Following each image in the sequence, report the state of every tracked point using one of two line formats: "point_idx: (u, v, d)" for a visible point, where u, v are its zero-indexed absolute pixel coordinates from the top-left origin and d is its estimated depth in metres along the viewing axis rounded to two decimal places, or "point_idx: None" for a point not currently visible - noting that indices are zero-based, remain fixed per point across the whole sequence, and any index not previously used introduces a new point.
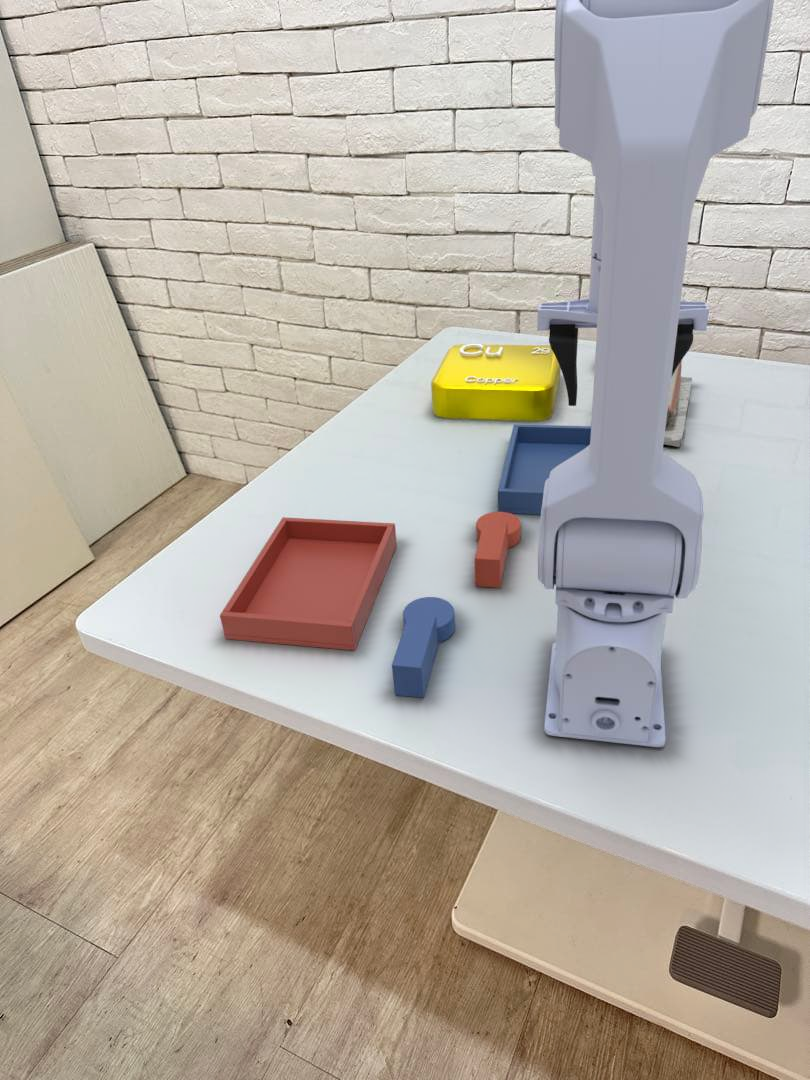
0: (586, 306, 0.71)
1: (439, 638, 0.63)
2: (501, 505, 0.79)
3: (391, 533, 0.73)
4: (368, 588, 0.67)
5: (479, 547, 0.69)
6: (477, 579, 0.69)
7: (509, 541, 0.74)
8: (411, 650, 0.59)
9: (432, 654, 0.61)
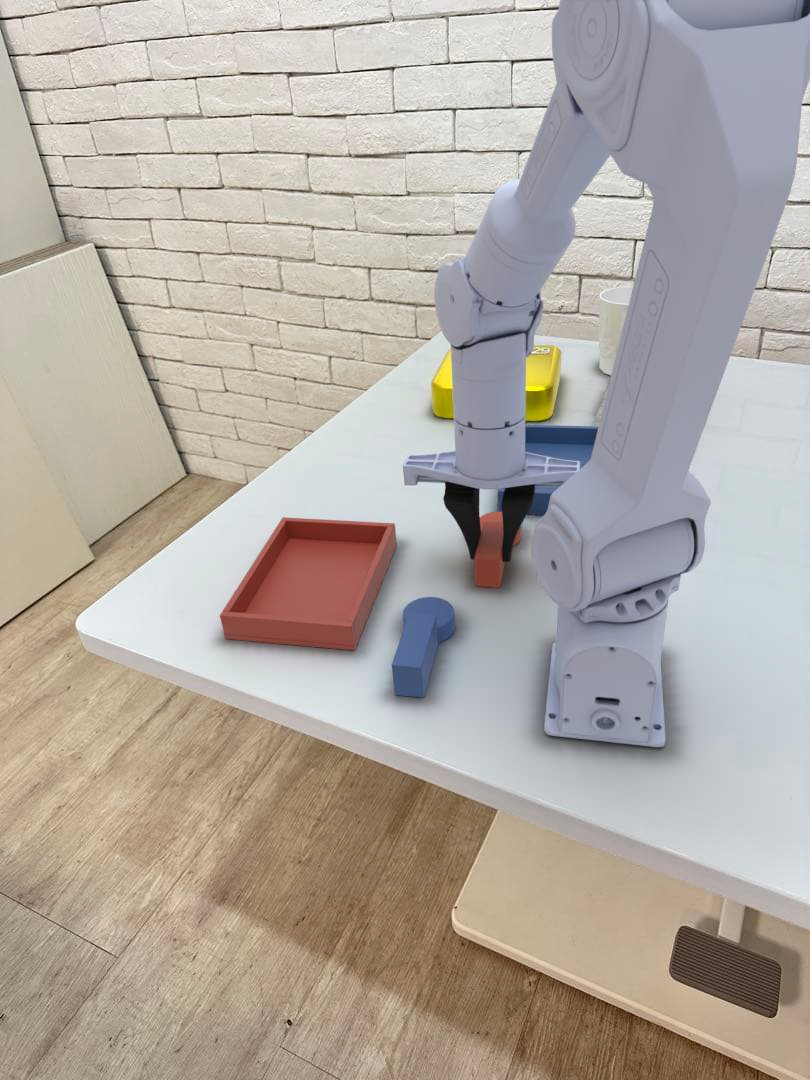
0: (454, 462, 0.67)
1: (439, 638, 0.63)
2: (501, 505, 0.79)
3: (391, 533, 0.73)
4: (368, 588, 0.67)
5: (479, 547, 0.69)
6: (477, 579, 0.69)
7: None
8: (411, 650, 0.59)
9: (432, 654, 0.61)
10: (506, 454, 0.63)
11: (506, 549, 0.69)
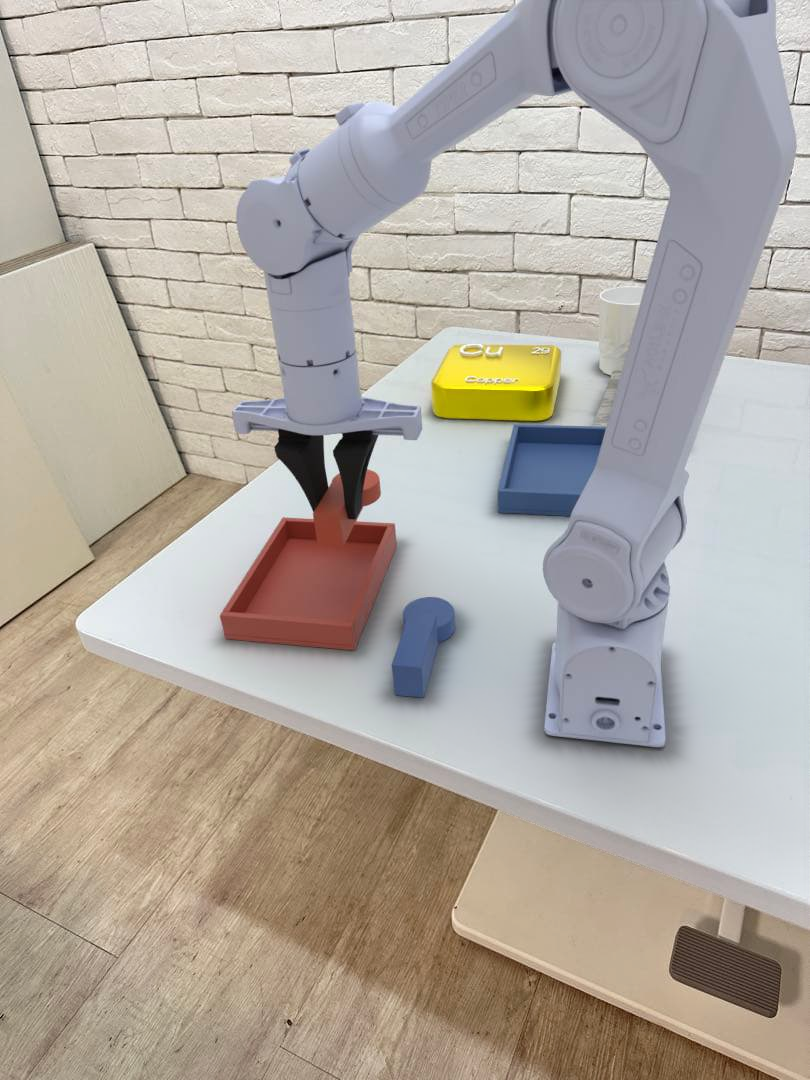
0: (286, 408, 0.61)
1: (439, 638, 0.63)
2: (501, 505, 0.79)
3: (391, 533, 0.73)
4: (368, 588, 0.67)
5: (321, 502, 0.64)
6: (318, 537, 0.64)
7: (364, 499, 0.68)
8: (411, 650, 0.59)
9: (432, 654, 0.61)
10: (332, 396, 0.57)
11: (349, 505, 0.63)
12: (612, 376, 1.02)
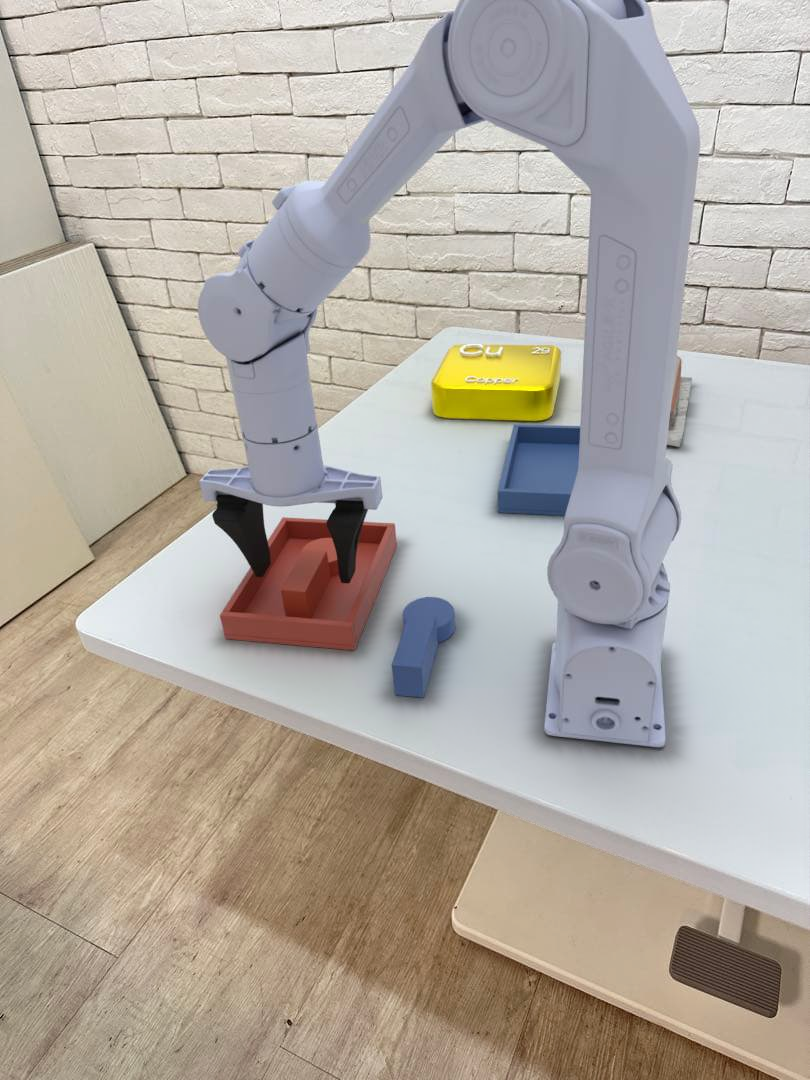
0: None
1: (439, 638, 0.63)
2: (501, 505, 0.79)
3: (391, 533, 0.73)
4: (368, 588, 0.67)
5: (289, 578, 0.67)
6: (286, 611, 0.67)
7: (332, 569, 0.71)
8: (411, 650, 0.59)
9: (432, 654, 0.61)
10: (294, 470, 0.59)
11: (342, 570, 0.65)
12: None
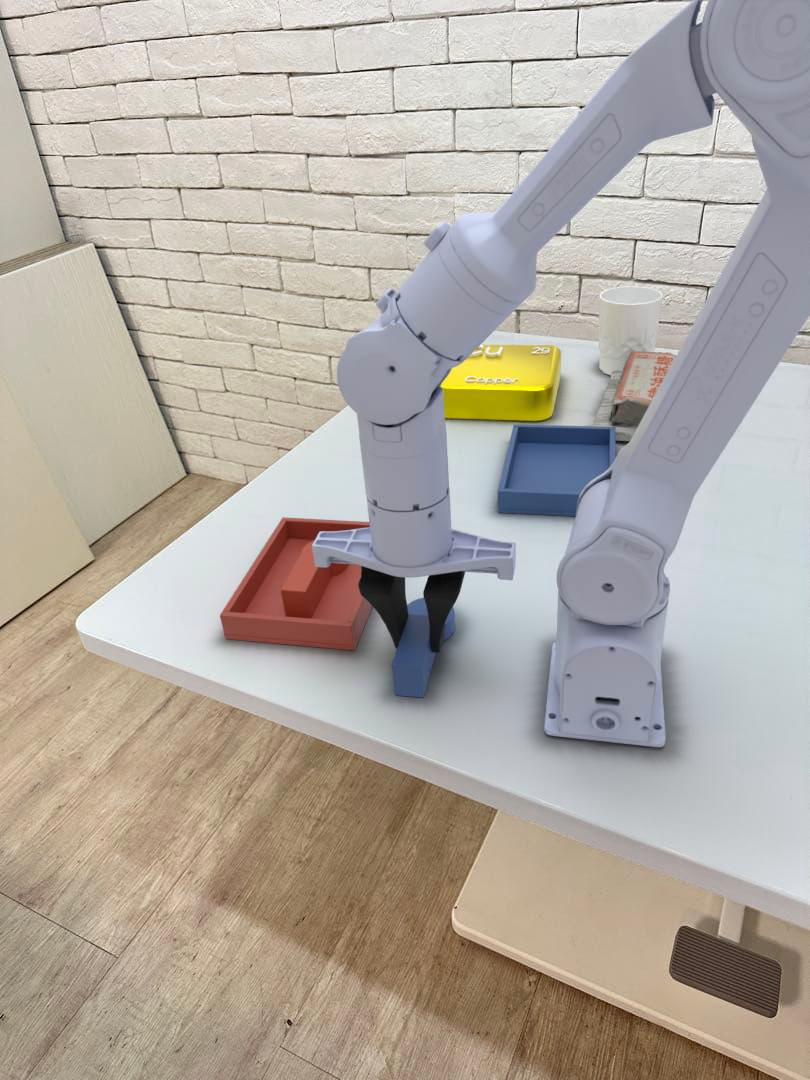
0: (370, 542, 0.57)
1: None
2: (501, 505, 0.79)
3: None
4: None
5: (289, 578, 0.67)
6: (286, 611, 0.67)
7: (332, 569, 0.71)
8: (411, 650, 0.59)
9: (432, 654, 0.61)
10: (426, 539, 0.53)
11: (434, 639, 0.59)
12: (612, 376, 1.02)
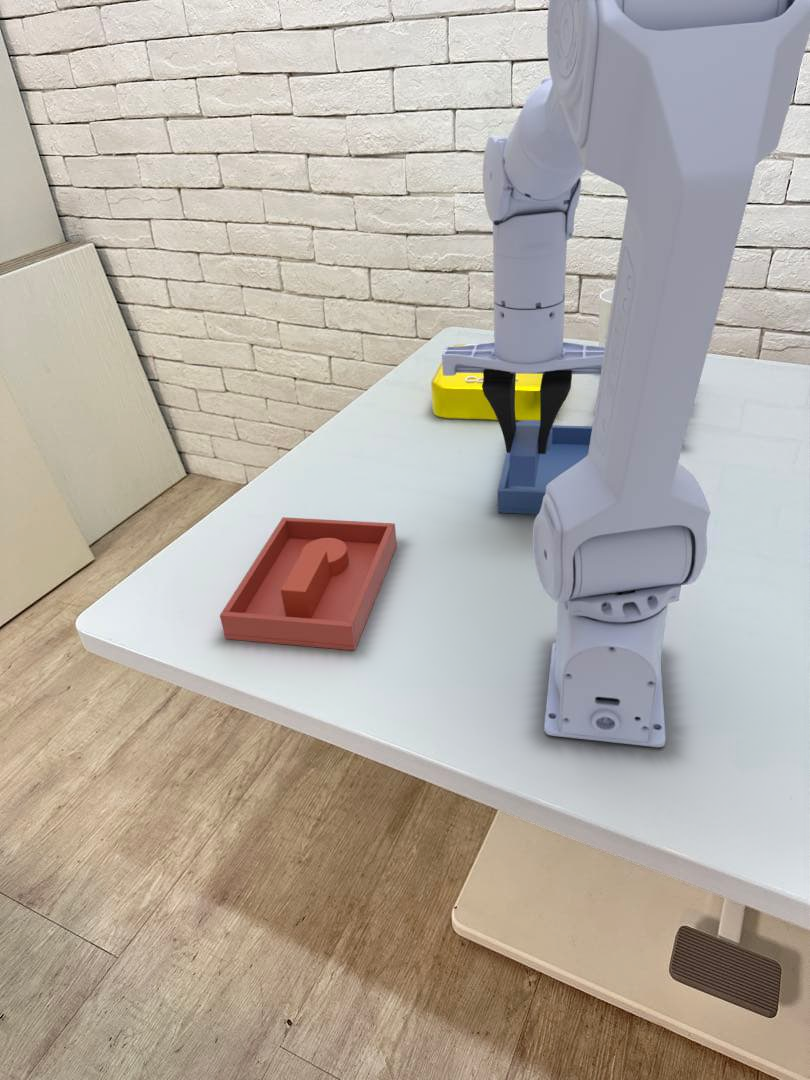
0: (492, 351, 0.68)
1: None
2: (501, 505, 0.79)
3: (391, 533, 0.73)
4: (368, 588, 0.67)
5: (289, 578, 0.67)
6: (286, 611, 0.67)
7: (332, 569, 0.71)
8: (524, 446, 0.69)
9: (538, 457, 0.72)
10: (546, 336, 0.64)
11: (542, 439, 0.70)
12: None
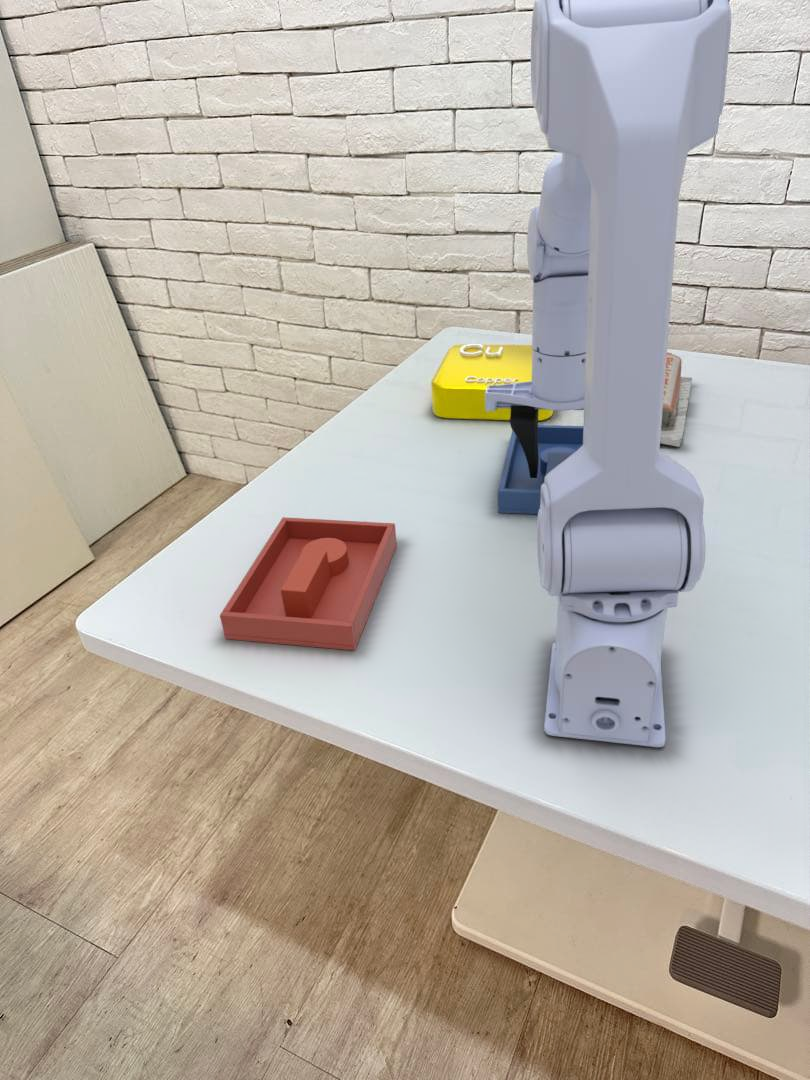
0: (529, 390, 0.77)
1: None
2: (501, 505, 0.79)
3: (391, 533, 0.73)
4: (368, 588, 0.67)
5: (289, 578, 0.67)
6: (286, 611, 0.67)
7: (332, 569, 0.71)
8: None
9: None
10: (578, 379, 0.73)
11: None
12: None
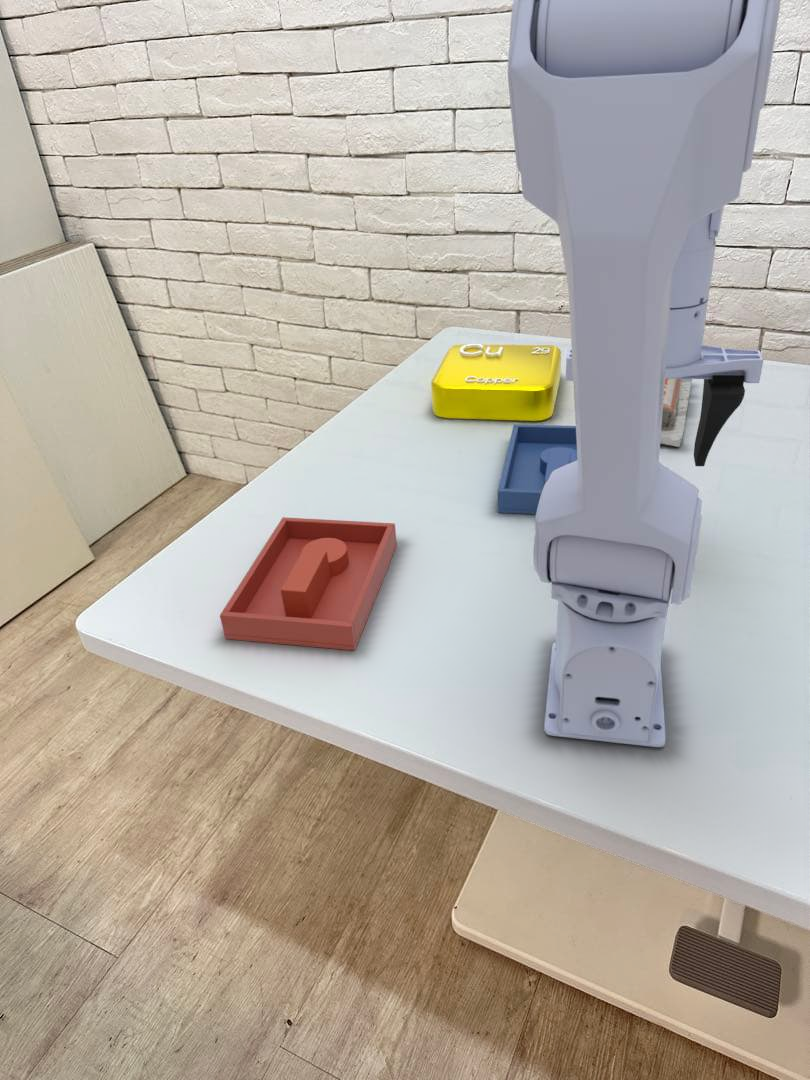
0: None
1: None
2: (501, 505, 0.79)
3: (391, 533, 0.73)
4: (368, 588, 0.67)
5: (289, 578, 0.67)
6: (286, 611, 0.67)
7: (332, 569, 0.71)
8: None
9: None
10: (689, 338, 0.59)
11: (703, 451, 0.64)
12: None
